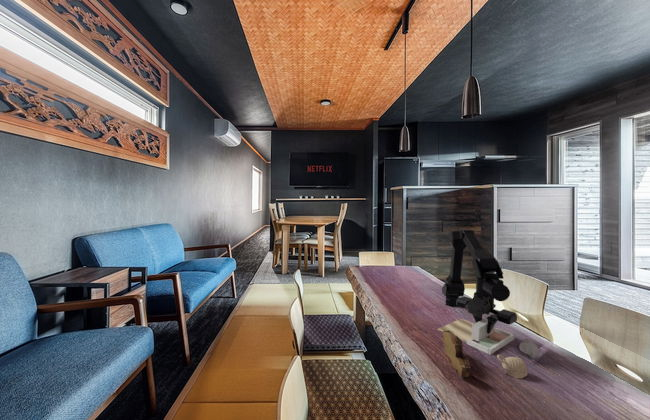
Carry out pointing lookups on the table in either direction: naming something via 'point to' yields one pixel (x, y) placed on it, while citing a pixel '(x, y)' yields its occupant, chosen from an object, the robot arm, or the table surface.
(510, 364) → the decorative ornament
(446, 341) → the wooden carving
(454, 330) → the board
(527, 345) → the garlic
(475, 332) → the long grey plank
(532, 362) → the table surface
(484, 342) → the tile
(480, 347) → the tray
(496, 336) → the tile
